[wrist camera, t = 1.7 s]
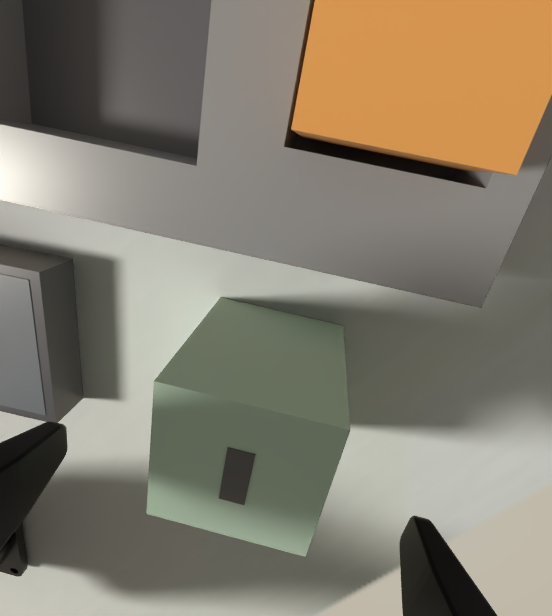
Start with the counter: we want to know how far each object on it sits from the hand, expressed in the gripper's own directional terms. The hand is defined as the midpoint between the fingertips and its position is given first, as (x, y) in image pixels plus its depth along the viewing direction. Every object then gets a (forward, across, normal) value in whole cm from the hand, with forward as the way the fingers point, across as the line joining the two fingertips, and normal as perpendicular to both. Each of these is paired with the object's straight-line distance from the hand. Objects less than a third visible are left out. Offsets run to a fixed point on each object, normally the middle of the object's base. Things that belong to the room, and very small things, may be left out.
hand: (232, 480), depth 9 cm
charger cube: (+6, 0, 0) cm, 6 cm away
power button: (+3, -2, -10) cm, 11 cm away
